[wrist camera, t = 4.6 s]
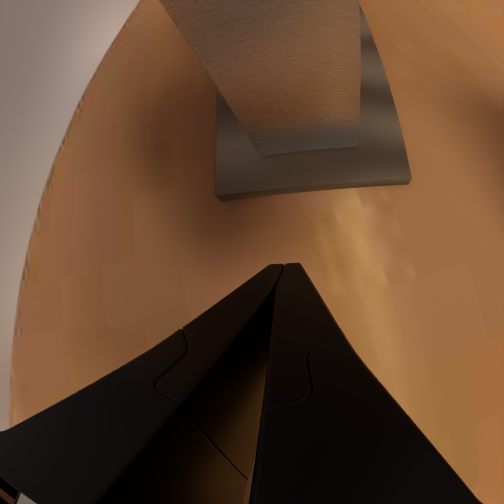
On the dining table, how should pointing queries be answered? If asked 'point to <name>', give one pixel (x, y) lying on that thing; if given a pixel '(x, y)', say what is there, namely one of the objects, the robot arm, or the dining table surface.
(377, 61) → the launcher
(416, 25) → the dining table surface
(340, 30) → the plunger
